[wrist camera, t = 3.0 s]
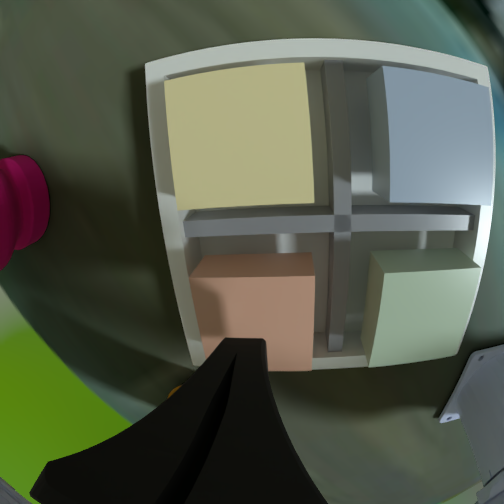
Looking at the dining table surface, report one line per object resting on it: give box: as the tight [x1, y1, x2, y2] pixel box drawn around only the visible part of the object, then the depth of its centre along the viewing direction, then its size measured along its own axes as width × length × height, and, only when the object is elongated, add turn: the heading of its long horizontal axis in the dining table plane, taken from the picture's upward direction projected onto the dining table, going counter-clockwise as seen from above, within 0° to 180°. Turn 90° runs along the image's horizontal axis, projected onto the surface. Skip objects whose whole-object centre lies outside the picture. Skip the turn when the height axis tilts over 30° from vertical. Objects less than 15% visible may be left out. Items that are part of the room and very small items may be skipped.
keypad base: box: [145, 38, 495, 370], centre depth 12 cm, size 14×14×2 cm
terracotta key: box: [189, 252, 315, 371], centre depth 12 cm, size 4×4×2 cm
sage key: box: [360, 248, 481, 367], centre depth 11 cm, size 4×4×2 cm
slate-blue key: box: [366, 66, 493, 206], centre depth 8 cm, size 4×4×2 cm
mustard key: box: [164, 63, 314, 211], centre depth 9 cm, size 4×4×2 cm
